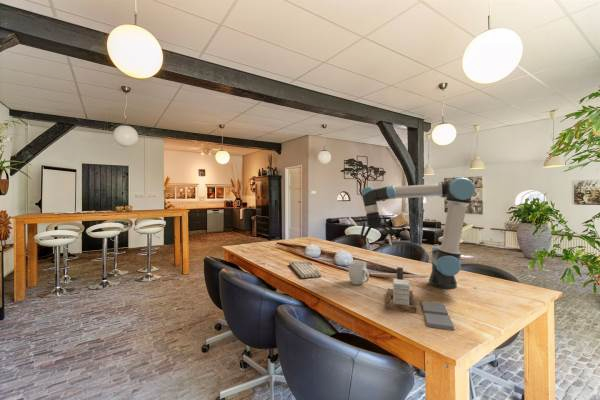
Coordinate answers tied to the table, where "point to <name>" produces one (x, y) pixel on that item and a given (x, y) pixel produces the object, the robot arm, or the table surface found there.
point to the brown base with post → (399, 306)
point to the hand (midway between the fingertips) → (379, 247)
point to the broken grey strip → (437, 315)
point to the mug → (357, 272)
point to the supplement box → (401, 292)
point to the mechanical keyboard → (304, 270)
